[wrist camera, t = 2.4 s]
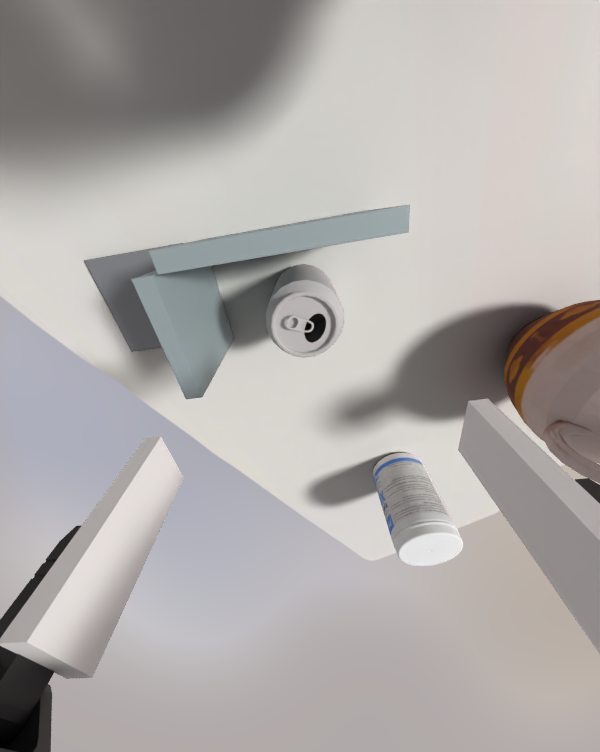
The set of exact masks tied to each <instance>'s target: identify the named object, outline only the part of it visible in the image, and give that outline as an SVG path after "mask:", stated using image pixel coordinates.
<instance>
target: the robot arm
mask: <svg viewBox="0 0 600 752" xmlns="http://www.w3.org/2000/svg"><path fill="white" fill-rule="evenodd" d="M458 450H459V452H460V453H461V454H462V456H463V457H464V459H465V460H466V462H467V463H468V465H469V466H470V467H471V469H472V470H473V472H474V473H475V475H476V476H477V478H478V479H479V480H480V482H481V483H482V485H483V486H484V488H485V489H486V491H487V492H488V493H489V495H490V496H491V498H492V499H493V501H494V502H495V503H496V505H497V506H498V508H499V509H500V511H501V512H502V513H503V515H504V516H505V518H506V519H507V521H508V522H509V524H510V525H511V527H512V528H513V529H514V531H515V532H516V534H517V535H518V537H519V538H520V539H521V541H522V542H523V544H524V545H525V547H526V548H527V550H528V551H529V552H530V554H531V555H532V557H533V558H534V560H535V561H536V563H537V564H538V566H539V567H540V568H541V570H542V571H543V573H544V574H545V576H546V577H547V578H548V580H549V581H550V583H551V584H552V586H553V587H554V588H555V590H556V592H557V593H558V594H559V596H560V597H561V599H562V600H563V602H564V603H565V604H566V606H567V607H568V609H569V610H570V612H571V613H572V615H573V616H574V617H575V619H576V620H577V622H578V623H579V624H580V626H581V627H582V629H583V630H584V632H585V633H586V635H587V636H588V638H589V639H590V640H591V642H592V643H593V645H594V646H595V648H596V649H597V651H598V652H599V654H600V485H599V484H597V483H595V482H594V481H592V480H590V479H588V478H587V479H576V480H574V479H573V478H572V477H571V476H570V475H569V474H568V473H567V472H565V471H564V470H563V469H562V468H561V467H560V466H559V465H558V464H557V463H556V462H555V461H554V460H553V459H552V458H551V457H550V456H549V455H547V454H546V453H545V452H544V451H543V450H542V449H541V448H540V447H539V446H538V445H537V444H536V443H535V442H534V441H533V440H531V439H530V438H529V437H528V436H527V435H526V434H525V433H524V432H523V431H522V430H521V429H520V428H519V427H518V426H517V425H516V424H514V423H513V422H512V421H511V420H510V419H509V418H508V417H507V416H506V415H505V414H504V413H503V412H502V411H501V410H500V409H499V408H497V407H496V406H495V405H494V404H493V403H492V402H491V401H490V400H489V399H480V400H471V401H468V404H467V409H466V414H465V419H464V424H463V429H462V434H461V439H460V443H459V448H458ZM182 481H183V476H182V474H181V472H180V470H179V469H178V467H177V465H176V463H175V461H174V459H173V458H172V456H171V454H170V452H169V450H168V449H167V447H166V445H165V443H164V441H163V440H162V438H161V437H155V438H146V439H144V440H143V442H142V443H141V444H140V446H139V447H138V449H137V450H136V451H135V453H134V454H133V455H132V457H131V458H130V460H129V461H128V462H127V464H126V465H125V467H124V468H123V469H122V471H121V472H120V473H119V475H118V476H117V478H116V479H115V480H114V482H113V483H112V485H111V486H110V487H109V489H108V490H107V491H106V493H105V494H104V496H103V497H102V498H101V500H100V501H99V502H98V504H97V505H96V507H95V508H94V509H93V511H92V512H91V513H90V515H89V516H88V518H87V519H86V520H85V522H84V523H83V525H82V526H76V527H75V528H74V529H73V530H72V531H70V533H68V534H67V535H66V536H65V537H64V538H63V539H62V540H61V541H60V542H59V543H58V544H57V546H56V547H55V548H54V550H53V551H52V552H51V554H50V555H49V556H48V558H47V559H46V562H45V563H43V564H42V565H41V567H40V568H39V570H38V571H37V572H36V573H35V577H34V578H33V579H31V580H30V581H29V583H28V584H27V585H26V587H25V588H24V589H23V591H22V592H21V593H20V595H19V596H18V597H17V599H16V600H15V601H14V602H13V604H12V605H11V606H10V608H9V609H8V610H7V612H6V613H5V614H4V616H3V617H2V618H1V620H0V752H50V750H51V749H50V748H51V746H50V745H51V711H52V710H51V709H52V692H51V687H50V685H48V682H49V681H50V678H51V677H52V675H53V673H54V672H55V673H57V674H59V675H61V676H63V677H65V678H67V679H69V678H89V677H90V678H91V677H93V675H94V673H95V670H96V668H97V666H98V664H99V662H100V660H101V658H102V655H103V653H104V651H105V649H106V647H107V644H108V642H109V640H110V638H111V636H112V634H113V631H114V629H115V627H116V625H117V622H118V620H119V618H120V616H121V614H122V612H123V609H124V607H125V605H126V603H127V601H128V598H129V596H130V594H131V592H132V590H133V588H134V586H135V583H136V581H137V579H138V577H139V575H140V572H141V570H142V568H143V566H144V564H145V561H146V559H147V557H148V555H149V553H150V551H151V548H152V546H153V544H154V542H155V540H156V537H157V535H158V533H159V531H160V529H161V527H162V524H163V522H164V520H165V518H166V516H167V514H168V511H169V509H170V507H171V505H172V503H173V500H174V498H175V496H176V494H177V492H178V490H179V487H180V485H181V483H182Z"/></svg>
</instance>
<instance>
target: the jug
mask: <svg viewBox="0 0 600 752" xmlns="http://www.w3.org/2000/svg"><path fill="white" fill-rule="evenodd" d="M504 382H505V385H506V388H507V391H508V394H509V397H510V399H511V402H512V403H513V405H514V407H515V408H516V410H517V411H518V413H519V415H520V416H521V418H522V419H523V421H524V422H525V423H526V425H527V426H528V427H529V428H530V429H531V430H532V431H533V432H534V433H535V434H536V435H537V436H538V437H539V438H540V439H541V440H543V441H545V443H546V445H547V447H548V448H549V450H550V451H551V452H552V453H553V454H554V455H555V456H556V457H557V458H558V459H559V460H560V461H561V462H562V463H564V464H565V465H567V466H568V467H570V468H572V469H573V470H575V471H576V472H578V473H579V474H581V475H583V476H585V477H587V478H589V479H592V480H594V481H596V482H598V483H600V465H599V464H600V300H596V301H587V302H582V303H578V304H574V305H571V306H569V307H566V308H563V309H560V310H558V311H555V312H552V313H550V314H547V315H545V316H543V317H541V318H539V319H537V320H535V321H533V322H531V323H529V324H528V325H526V326H525V327H524V328H522V329H521V330H520V331H519V332H518V333H517V334H516V335H515V337H514V338H513V340H512V341H511V343H510V346H509V349H508V352H507V356H506V361H505V370H504ZM597 463H599V464H597Z"/></svg>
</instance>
